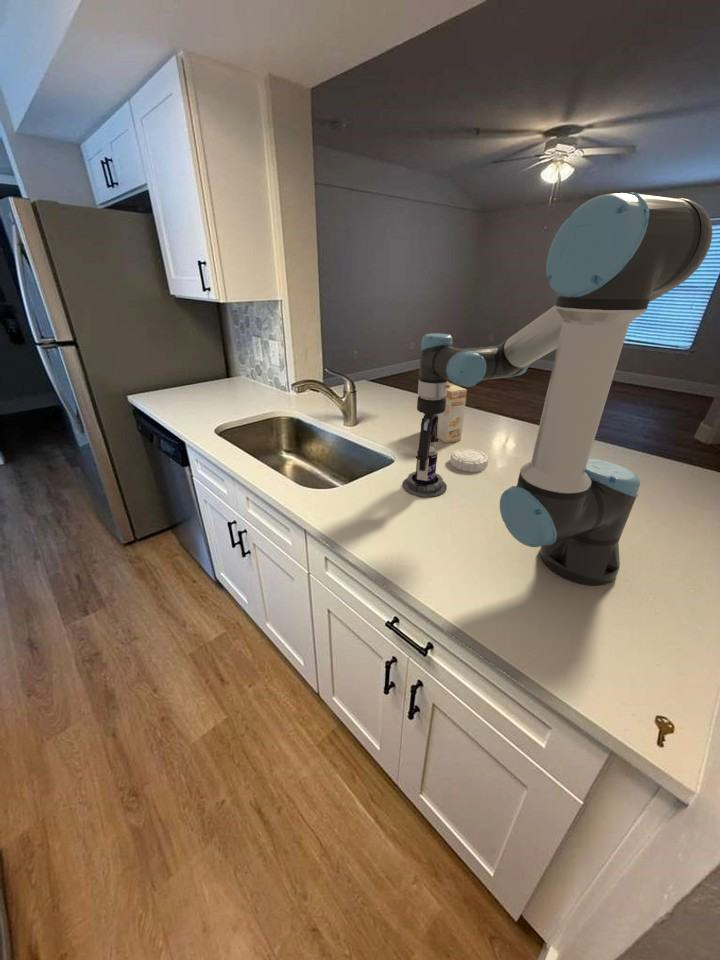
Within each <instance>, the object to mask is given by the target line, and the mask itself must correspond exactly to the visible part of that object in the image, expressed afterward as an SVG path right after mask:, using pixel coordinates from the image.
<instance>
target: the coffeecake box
mask: <svg viewBox="0 0 720 960" xmlns="http://www.w3.org/2000/svg"><path fill="white" fill-rule="evenodd" d="M447 385H450V388H449V389H447V395H446V396H445V398H446V408H445V411H444V412H443V413H440V414H438V430H437V435H438V436H437V438H439V441H442V442H443V443H447V444H448V443H454V442H460V441H462V431H463V425H464V416H465V410H466V409H465V407H466V402H467V394H468V389H466V388H463V387H461V386H460V385H457V384H454V383H452V382H449V381H448V383H447Z"/></svg>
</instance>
